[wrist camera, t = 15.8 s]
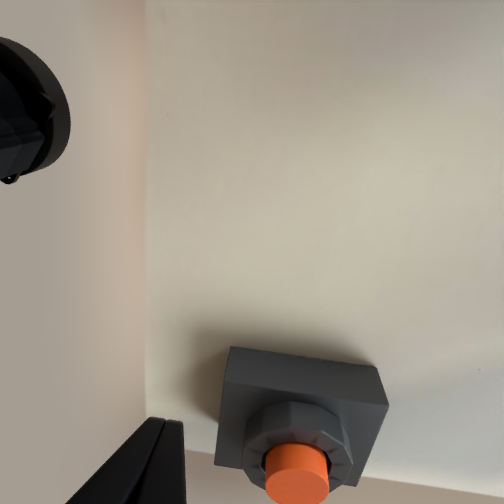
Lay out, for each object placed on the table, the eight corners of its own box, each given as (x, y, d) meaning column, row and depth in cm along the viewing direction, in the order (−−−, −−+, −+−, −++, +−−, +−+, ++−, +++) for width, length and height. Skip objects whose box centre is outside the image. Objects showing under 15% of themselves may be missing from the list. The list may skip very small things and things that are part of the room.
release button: (262, 473, 22) (261, 502, 21) (270, 435, 21) (269, 464, 19) (319, 481, 22) (321, 512, 21) (331, 444, 21) (335, 474, 19)
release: (220, 425, 27) (208, 492, 23) (230, 345, 24) (218, 406, 19) (348, 444, 27) (362, 516, 23) (377, 367, 24) (399, 433, 19)
